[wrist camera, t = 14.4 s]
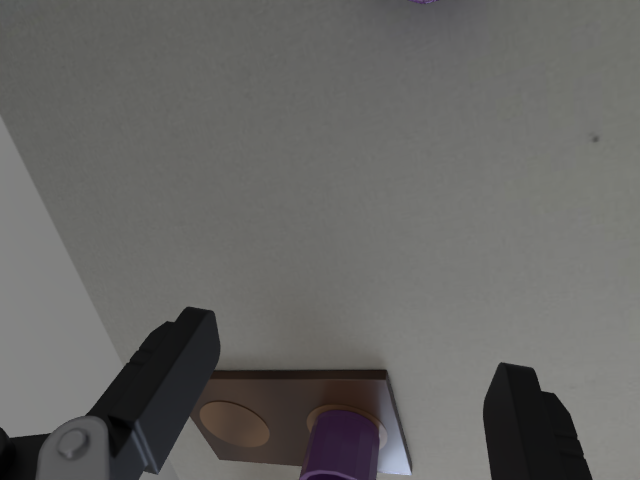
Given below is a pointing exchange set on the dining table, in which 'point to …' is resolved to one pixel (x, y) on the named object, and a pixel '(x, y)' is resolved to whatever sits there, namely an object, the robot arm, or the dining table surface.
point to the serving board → (294, 413)
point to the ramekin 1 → (341, 448)
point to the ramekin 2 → (423, 1)
